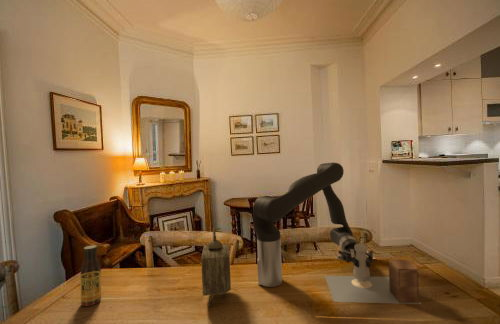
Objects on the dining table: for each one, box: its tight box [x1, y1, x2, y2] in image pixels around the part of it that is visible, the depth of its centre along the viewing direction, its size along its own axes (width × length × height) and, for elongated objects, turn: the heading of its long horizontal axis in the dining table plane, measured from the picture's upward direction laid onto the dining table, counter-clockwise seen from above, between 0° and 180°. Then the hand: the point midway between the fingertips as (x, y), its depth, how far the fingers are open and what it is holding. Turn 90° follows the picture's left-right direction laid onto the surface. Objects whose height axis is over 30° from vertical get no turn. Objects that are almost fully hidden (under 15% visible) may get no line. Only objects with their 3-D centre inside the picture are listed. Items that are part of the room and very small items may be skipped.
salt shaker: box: [352, 243, 371, 282], centre depth 95 cm, size 6×6×13 cm
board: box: [324, 275, 422, 305], centre depth 91 cm, size 27×18×1 cm, turn 83°
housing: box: [388, 259, 420, 304], centre depth 85 cm, size 6×7×11 cm
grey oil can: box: [201, 226, 232, 308], centre depth 90 cm, size 14×9×25 cm, turn 5°
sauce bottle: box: [79, 244, 102, 307], centre depth 90 cm, size 7×6×20 cm
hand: (363, 264), depth 92 cm, fingers open, 3 cm apart
